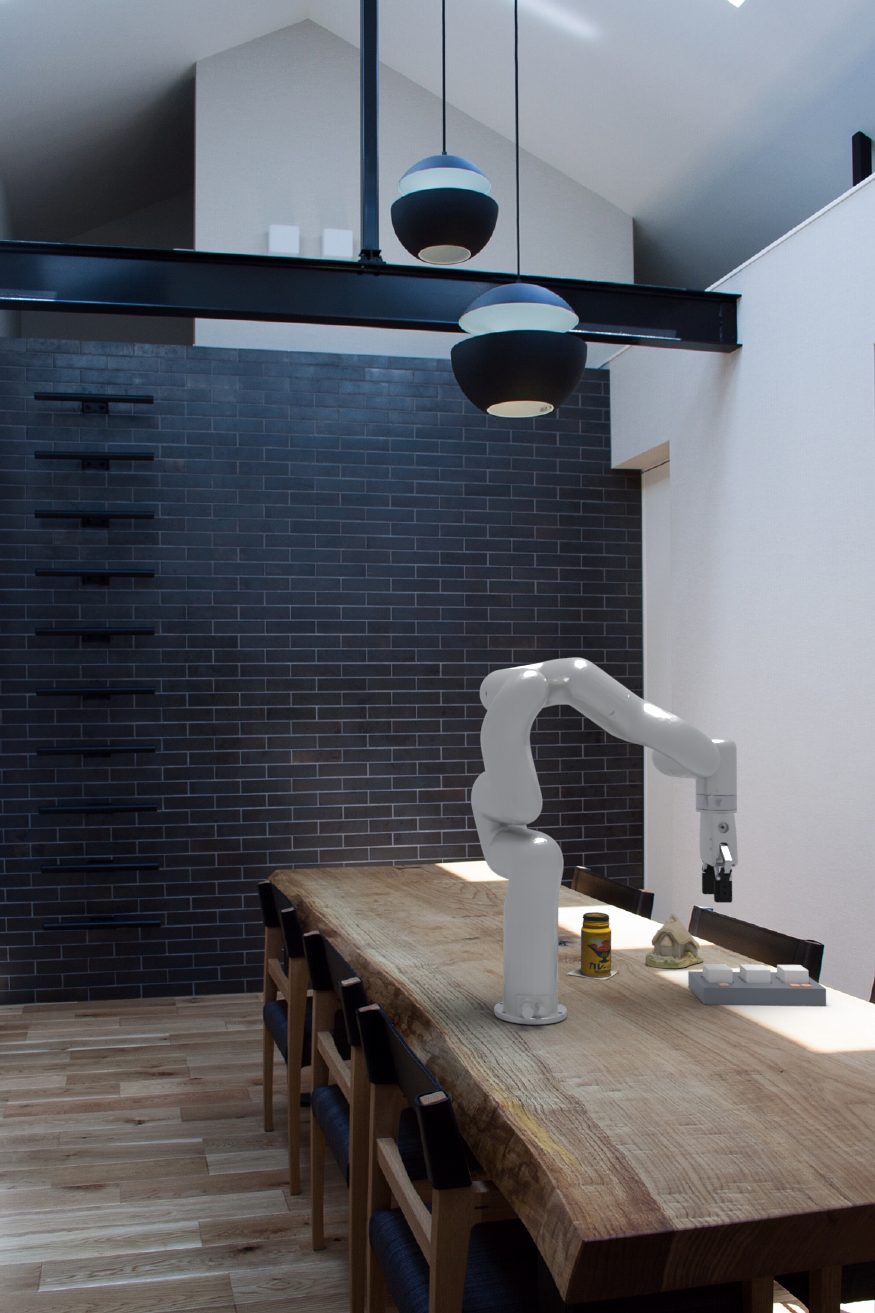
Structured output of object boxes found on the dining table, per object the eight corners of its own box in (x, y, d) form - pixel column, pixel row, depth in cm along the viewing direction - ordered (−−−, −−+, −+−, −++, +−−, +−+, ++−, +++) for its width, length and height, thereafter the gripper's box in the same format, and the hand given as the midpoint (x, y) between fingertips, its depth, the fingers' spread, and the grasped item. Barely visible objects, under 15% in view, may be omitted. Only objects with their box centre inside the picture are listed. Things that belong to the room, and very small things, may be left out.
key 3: (732, 989, 194) (732, 970, 194) (708, 989, 194) (708, 969, 194) (726, 983, 198) (726, 964, 199) (702, 983, 198) (702, 964, 199)
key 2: (770, 989, 194) (770, 970, 194) (746, 989, 194) (746, 970, 194) (763, 983, 198) (763, 964, 199) (739, 983, 198) (739, 964, 199)
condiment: (605, 980, 207) (605, 918, 208) (565, 975, 211) (565, 914, 212) (618, 973, 213) (618, 913, 214) (579, 967, 217) (579, 908, 218)
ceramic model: (657, 953, 232) (656, 907, 233) (707, 959, 227) (707, 912, 227) (636, 966, 220) (636, 917, 220) (690, 973, 214) (690, 923, 215)
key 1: (808, 990, 194) (808, 970, 194) (784, 989, 194) (784, 970, 194) (800, 984, 198) (800, 965, 199) (777, 983, 198) (776, 964, 199)
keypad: (826, 1005, 190) (825, 987, 190) (704, 1004, 190) (704, 986, 190) (803, 988, 202) (803, 971, 202) (688, 987, 202) (688, 970, 202)
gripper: (749, 808, 189) (750, 906, 188) (723, 800, 207) (724, 890, 206) (708, 808, 189) (708, 906, 188) (685, 800, 207) (685, 890, 206)
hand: (716, 897), depth 197 cm, fingers open, 8 cm apart
